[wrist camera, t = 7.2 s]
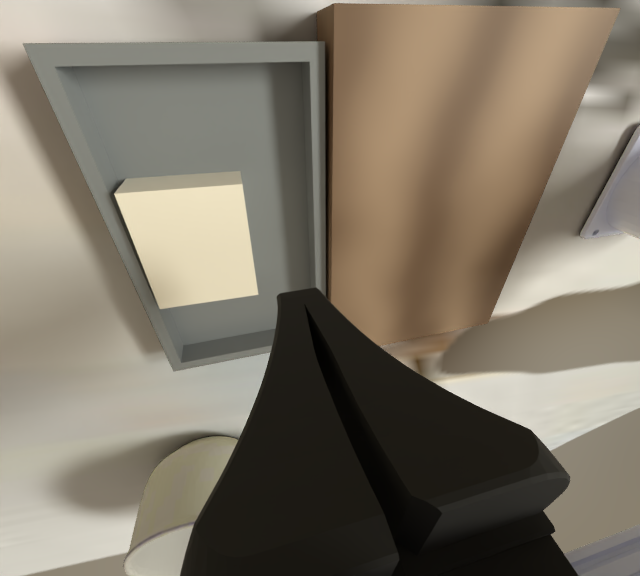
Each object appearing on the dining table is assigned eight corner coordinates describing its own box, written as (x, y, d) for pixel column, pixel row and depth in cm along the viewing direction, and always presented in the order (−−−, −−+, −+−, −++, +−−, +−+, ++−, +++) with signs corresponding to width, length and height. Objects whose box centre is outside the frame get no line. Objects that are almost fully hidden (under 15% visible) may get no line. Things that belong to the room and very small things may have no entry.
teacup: (178, 494, 32) (167, 599, 26) (118, 447, 25) (84, 573, 19) (307, 449, 33) (327, 539, 27) (282, 392, 27) (301, 495, 20)
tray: (312, 43, 13) (324, 41, 12) (318, 321, 23) (326, 341, 21) (50, 45, 11) (22, 43, 10) (177, 348, 21) (173, 371, 19)
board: (568, 14, 15) (620, 8, 13) (467, 303, 26) (487, 323, 24) (316, 12, 13) (334, 3, 11) (321, 331, 23) (330, 356, 21)
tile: (114, 193, 12) (126, 178, 14) (159, 309, 16) (165, 286, 17) (242, 183, 13) (240, 170, 15) (258, 294, 17) (255, 274, 18)
